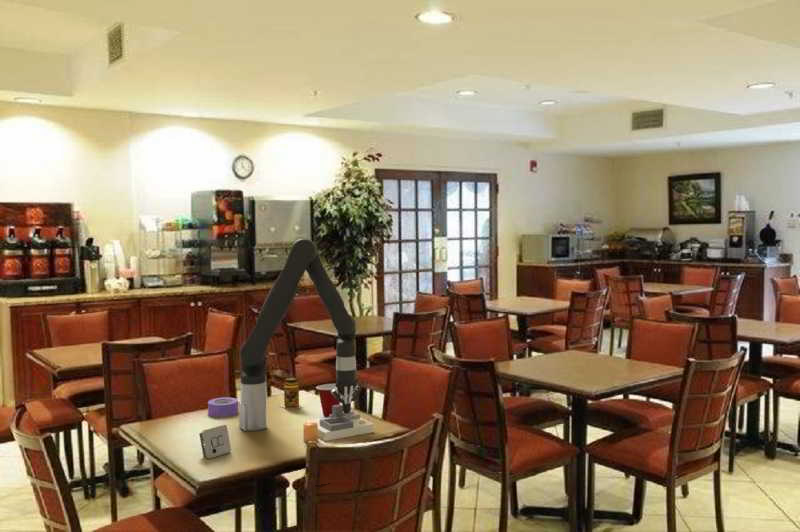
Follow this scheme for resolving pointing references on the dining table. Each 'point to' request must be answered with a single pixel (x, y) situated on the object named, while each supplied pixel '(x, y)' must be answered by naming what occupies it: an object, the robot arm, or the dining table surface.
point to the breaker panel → (342, 426)
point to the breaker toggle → (337, 411)
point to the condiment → (291, 394)
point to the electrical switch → (215, 441)
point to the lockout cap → (310, 431)
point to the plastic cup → (327, 398)
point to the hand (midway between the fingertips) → (346, 412)
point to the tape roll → (223, 407)
